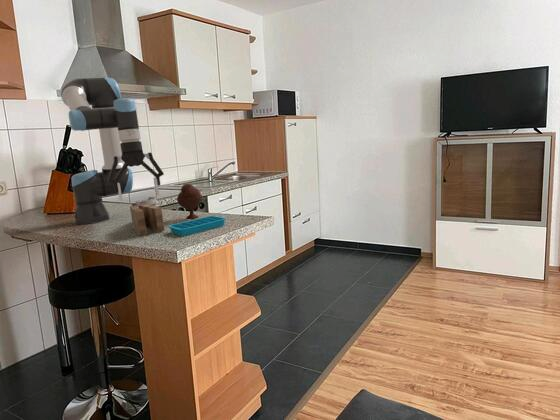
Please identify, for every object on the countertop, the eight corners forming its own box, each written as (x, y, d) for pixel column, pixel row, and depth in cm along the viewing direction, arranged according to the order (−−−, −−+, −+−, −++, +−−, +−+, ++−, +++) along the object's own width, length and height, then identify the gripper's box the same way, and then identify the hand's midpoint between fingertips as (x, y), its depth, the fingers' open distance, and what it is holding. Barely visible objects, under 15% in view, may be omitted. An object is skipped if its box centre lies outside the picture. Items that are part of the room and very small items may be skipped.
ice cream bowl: (174, 221, 183) (169, 186, 180) (190, 215, 192) (185, 182, 190) (194, 221, 178) (189, 185, 175) (209, 215, 188) (205, 181, 185)
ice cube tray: (228, 225, 165) (227, 218, 165) (182, 238, 152) (180, 229, 152) (212, 222, 174) (212, 215, 173) (167, 233, 161) (166, 226, 161)
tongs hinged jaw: (141, 226, 176) (138, 205, 174) (147, 225, 177) (144, 204, 175) (158, 231, 163) (154, 208, 161) (164, 230, 164) (161, 207, 162)
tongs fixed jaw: (132, 227, 177) (128, 204, 176) (142, 225, 179) (139, 202, 177) (140, 236, 159) (136, 210, 157) (152, 234, 161) (148, 208, 159)
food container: (151, 224, 180) (148, 201, 178) (138, 225, 181) (134, 202, 179) (164, 218, 192) (161, 196, 190) (152, 218, 193) (149, 197, 191)
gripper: (95, 144, 150) (105, 203, 154) (166, 137, 161) (174, 193, 165) (94, 145, 157) (104, 201, 161) (162, 138, 168) (169, 191, 171)
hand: (139, 197), depth 163 cm, fingers open, 13 cm apart
